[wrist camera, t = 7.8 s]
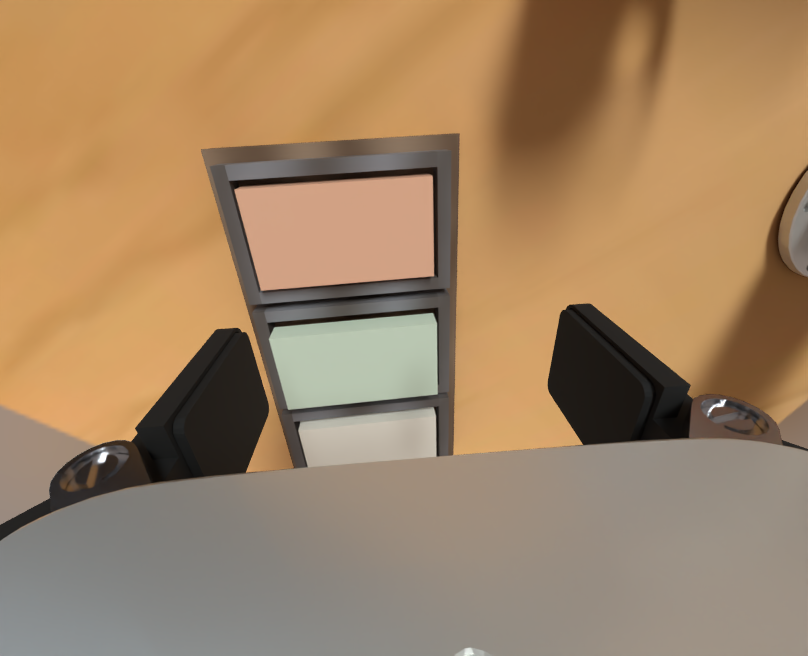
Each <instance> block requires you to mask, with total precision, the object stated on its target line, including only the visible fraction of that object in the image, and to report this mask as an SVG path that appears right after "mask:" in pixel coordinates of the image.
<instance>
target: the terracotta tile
mask: <svg viewBox="0 0 808 656" xmlns="http://www.w3.org/2000/svg"><path fill="white" fill-rule="evenodd" d="M235 194H236V198H237V202H238V205H239V209H240V213H241V217H242V221H243V224H244V228H245V232H246V236H247V239H248V243H249V247H250V251H251V254H252V258H253V262H254V266H255V269H256V273H257V277H258V281H259V285H260V288H261V291H264V290H276V289H287V288H299V287H311V286H323V285H335V284H347V283H358V282H370V281H382V280H394V279H406V278H418V277H429V276H434V233H433V176H432V175H430V174H429V173H425V174H410V175H395V176H380V177H366V178H351V179H336V180H321V181H306V182H292V183H277V184H262V185H247V186H241V187H239V188H237V189H235Z"/></svg>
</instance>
